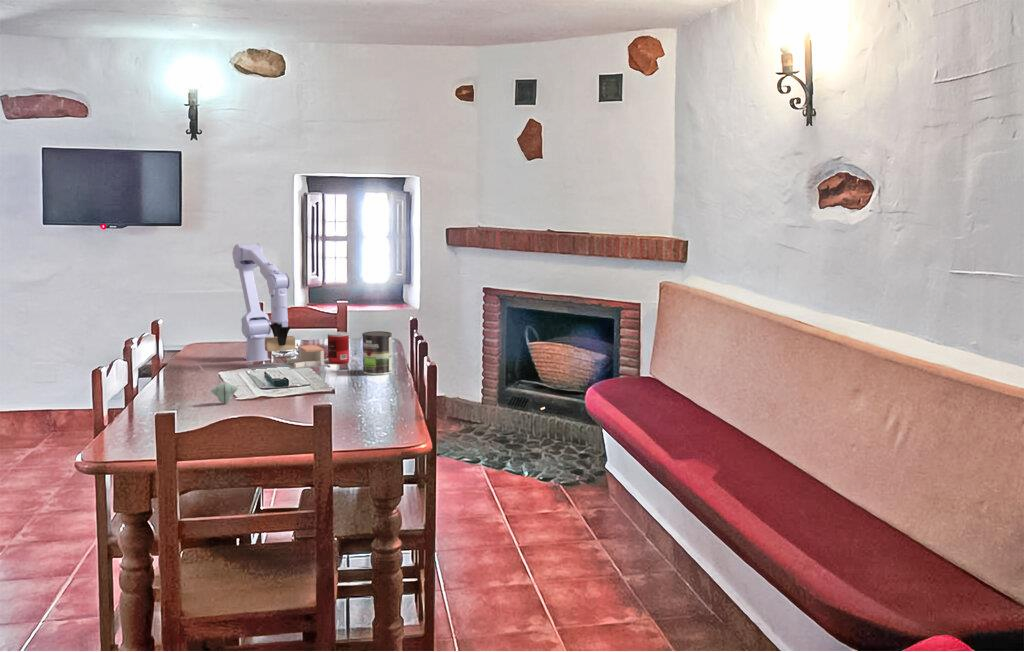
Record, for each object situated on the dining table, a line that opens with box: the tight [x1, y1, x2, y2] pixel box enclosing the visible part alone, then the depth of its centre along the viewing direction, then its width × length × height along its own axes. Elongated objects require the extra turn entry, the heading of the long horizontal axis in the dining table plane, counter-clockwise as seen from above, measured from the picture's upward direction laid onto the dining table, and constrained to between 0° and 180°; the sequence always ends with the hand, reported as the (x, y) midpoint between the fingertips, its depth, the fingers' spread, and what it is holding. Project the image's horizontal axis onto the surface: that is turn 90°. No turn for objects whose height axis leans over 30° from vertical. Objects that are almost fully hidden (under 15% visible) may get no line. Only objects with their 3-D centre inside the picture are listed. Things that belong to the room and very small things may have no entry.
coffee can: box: [361, 330, 393, 376], centre depth 327 cm, size 10×10×14 cm
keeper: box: [245, 344, 331, 371], centre depth 336 cm, size 14×27×7 cm, turn 119°
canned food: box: [327, 331, 350, 365], centre depth 346 cm, size 8×8×11 cm
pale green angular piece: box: [210, 381, 239, 405], centre depth 279 cm, size 8×4×7 cm, turn 109°
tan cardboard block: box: [265, 335, 296, 353], centre depth 334 cm, size 4×10×4 cm, turn 119°
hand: (280, 344), depth 334 cm, fingers closed on tan cardboard block, 4 cm apart
